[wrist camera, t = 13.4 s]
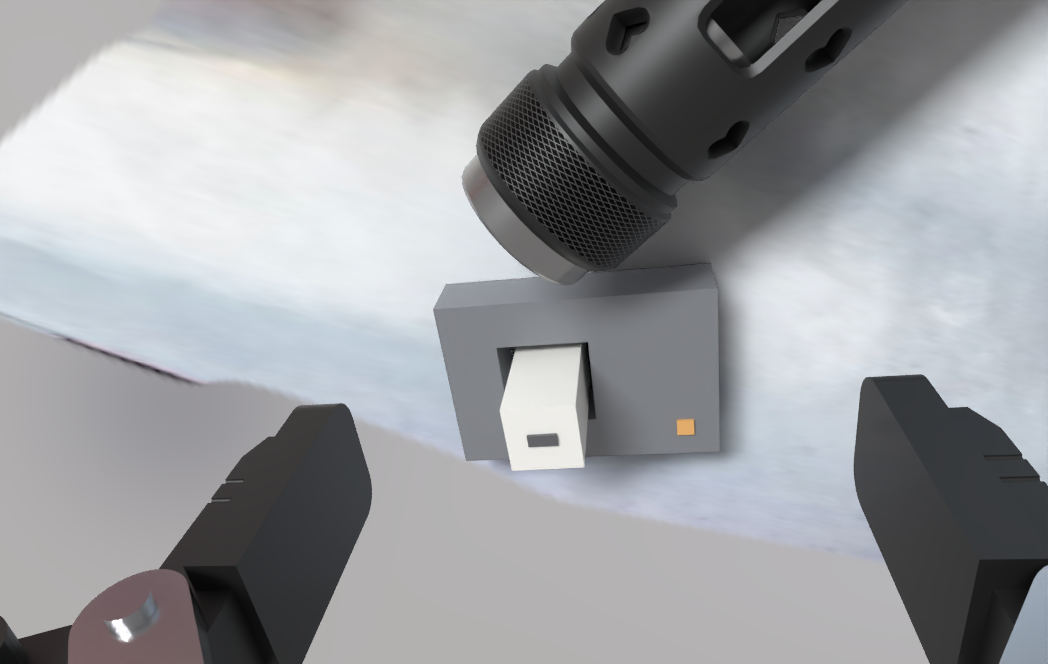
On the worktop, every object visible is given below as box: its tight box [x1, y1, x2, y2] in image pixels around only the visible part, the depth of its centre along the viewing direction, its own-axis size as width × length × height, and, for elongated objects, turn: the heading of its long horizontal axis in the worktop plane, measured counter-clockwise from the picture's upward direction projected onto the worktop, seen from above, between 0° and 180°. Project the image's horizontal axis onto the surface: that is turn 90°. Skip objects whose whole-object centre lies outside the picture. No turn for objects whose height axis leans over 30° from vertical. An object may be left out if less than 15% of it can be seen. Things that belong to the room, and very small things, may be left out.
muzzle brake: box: [462, 0, 908, 286], centre depth 30 cm, size 10×28×10 cm, turn 137°
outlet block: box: [433, 263, 720, 461], centre depth 43 cm, size 16×11×4 cm
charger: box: [500, 342, 590, 471], centre depth 41 cm, size 4×4×9 cm
